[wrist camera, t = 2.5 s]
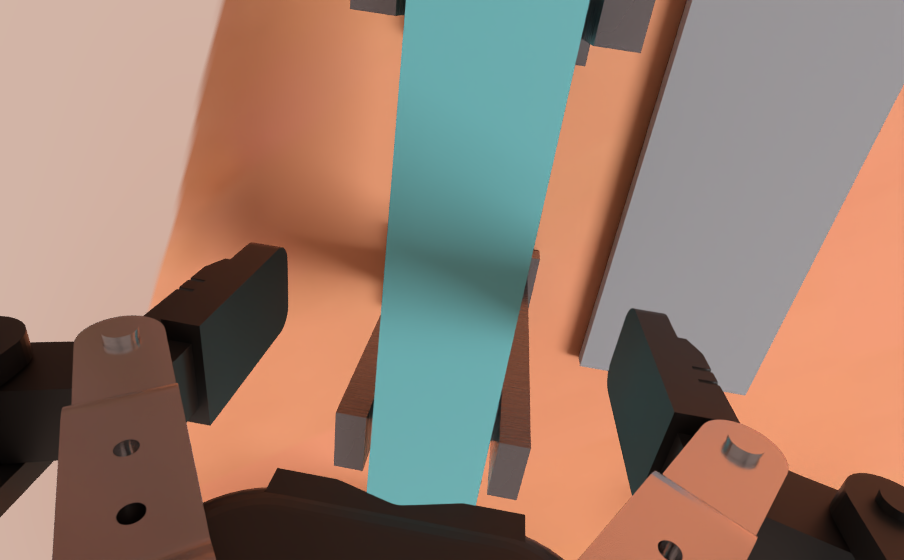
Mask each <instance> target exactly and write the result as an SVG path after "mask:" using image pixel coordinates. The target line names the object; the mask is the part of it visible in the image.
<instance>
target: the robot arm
mask: <svg viewBox="0 0 904 560" xmlns="http://www.w3.org/2000/svg"><path fill="white" fill-rule="evenodd" d="M287 312H288V266H287V253H286V250H285V249H284V248H282V247H276V246H270V245H264V244H258V243H249V244H248V245H247V246H246V247H244V248H243V249H242V250H241V251H240V252H239V253H237V254H236V255H235V256H234V257H233V258H231V259H223V260H221V261H218V262H215V263H213V264H210V265H208V266H205V267H204V268H202V269H201V270H200V271H199V272H197V273H196V274H195V275H194V276H193V277H191V280H188V281H186V282H185V283H184V284H183V285H181V286H180V288H179V290H178V289H176V290H175V291H174V292H173V293H171V294H170V295H169V296H168V297H166V298H165V299H164V300H163V301H161V302H160V303H159V304H158V305H156V306H155V307H154V308H153V309H151V310H150V311H149V312H148V313H146V314H145V315H144V316H120V317H114V318H110V319H106V320H103V321H100V322H97V323H95V324H93V325H91V326H89V327H87V328H86V329H84V330H83V331H82V332H80V333H79V334H78V336H77V337H76V339H75V341H74V342H36V343H30V341H29V337H28V334H27V330H26V327H25V325H24V324H23V322H21V321H19V320H18V319H15V318H11V317H5V316H0V517H1V516H2V515H3V514H4V513H5V512H6V510H7V509H8V508H9V507H10V506H11V505H12V504H13V503H14V502H15V501H16V500H17V499H18V498H19V497H20V496H21V495H22V494H23V493H24V492H25V491H26V490H27V489H28V487H29V486H30V485H31V484H32V483H33V482H34V481H35V480H36V479H37V478H38V477H39V476H40V475H41V474H42V473H43V472H44V470H45V469H47V467H48V466H49V465H50V464H51V463H52V462H53V461H56V460H58V470H57V472H58V473H57V488H56V504H55V522H54V539H53V555H52V560H564V559H563V558H561V557H560V556H558V555H557V554H556V553H554V552H553V551H551V550H550V549H549V548H547V547H545V546H543V545H542V544H540V543H538V542H536V541H535V540H532V539H530V538H528V537H526V536H525V515H523V514H518V513H512V512H507V511H502V510H496V509H491V508H486V507H481V506H475V505H470V504H465V503H455V504H426V505H396V504H392V503H390V502H387V501H385V500H383V499H381V498H378V497H376V496H374V495H372V494H369V493H367V492H365V491H362V490H360V489H358V488H356V487H353V486H351V485H349V484H347V483H344V482H342V481H340V480H338V479H333V478H327V477H322V476H317V475H311V474H306V473H301V472H296V471H290V470H285V469H280V468H277V470H276V472H275V474H274V476H273V478H272V479H271V481H270V483H269V485H268V487H267V488H254V489H247V490H241V491H237V492H233V493H229V494H225V495H222V496H219V497H216V498H213V499H211V500H209V501H206V502H204V503H203V501H202V497H201V492H200V487H199V482H198V477H197V472H196V468H195V463H194V458H193V453H192V448H191V443H190V439H189V434H188V429H187V424H186V423H187V421H189V422H194V423H200V424H205V425H211V424H212V423H213V421H214V420H215V419H216V417H217V416H218V415H219V413H220V412H221V411H222V409H223V408H224V407H225V405H226V404H227V403H228V401H229V400H230V399H231V397H232V396H233V395H234V393H235V392H236V391H237V389H238V388H239V387H240V385H241V384H242V383H243V382H244V380H245V379H246V378H247V376H248V375H249V374H250V372H251V371H252V370H253V368H254V367H255V366H256V364H257V363H258V362H259V360H260V359H261V358H262V356H263V355H264V354H265V352H266V351H267V350H268V348H269V347H270V346H271V344H272V343H273V342H274V340H275V339H276V338H277V336H278V335H279V334H280V332H281V331H282V329H283V327H284V324H285V321H286V318H287ZM607 388H608V394H609V398H610V402H611V407H612V411H613V415H614V420H615V424H616V428H617V433H618V437H619V441H620V446H621V450H622V454H623V459H624V463H625V467H626V472H627V476H628V480H629V485H630V489H631V493H632V497H631V498H630V499H629V500H628V502H627V503H626V504H625V505H624V506H623V507H622V509H621V510H620V511H619V512H618V513H617V514H616V516H615V517H614V518H613V519H612V520H611V521H610V523H609V524H608V525H607V526H606V527H605V529H604V530H603V531H602V532H601V533H600V534H599V536H598V537H597V538H596V539H595V540H594V541H593V543H592V544H591V545H590V546H589V547H588V548H587V550H586V551H585V552H584V553H583V554H582V555H581V557H580V558H579V559H578V560H904V487H903V486H901V485H900V484H898V483H895V482H893V481H891V480H889V479H886V478H883V477H880V476H876V475H873V474H867V473H857V474H852V475H850V476H849V477H848V478H847V479H846V480H845V481H844V483H843V484H842V486H841V487H840V489H839V490H836V489H833V488H831V487H828V486H826V485H823V484H821V483H818V482H816V481H813V480H810V479H808V478H805V477H803V476H800V475H798V474H796V473H793V472H791V471H789V470H788V463H787V460H786V458H785V456H784V454H783V453H782V452H781V450H780V449H779V448H778V447H777V446H776V445H775V444H774V443H773V442H772V441H770V440H769V439H768V438H767V437H765V436H764V435H762V434H761V433H759V432H757V431H756V430H754V429H752V428H750V427H748V426H745V425H743V424H740V422H739V420H738V419H737V417H736V415H735V413H734V411H733V409H732V407H731V406H730V404H729V402H728V400H727V398H726V396H725V394H724V392H723V391H722V389H721V387H720V386H719V385H718V381H717V379H716V377H715V376H714V374H713V373H712V372H711V368H710V366H709V364H708V363H707V361H706V359H705V357H704V355H703V354H702V353H701V352H700V351H699V350H698V349H697V348H696V347H695V346H694V345H692V344H691V343H690V342H689V341H688V340H687V339H684V338H678V337H677V335H676V333H675V331H674V329H673V327H672V325H671V323H670V320H669V318H668V316H667V315H666V314H664V313H658V312H652V311H646V310H641V309H635V308H631V309H630V310H629V311H628V313H627V315H626V317H625V320H624V323H623V326H622V329H621V332H620V335H619V338H618V341H617V344H616V347H615V350H614V353H613V356H612V359H611V362H610V366H609V371H608V378H607Z"/></svg>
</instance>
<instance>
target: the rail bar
mask: <svg viewBox="0 0 904 560" xmlns="http://www.w3.org/2000/svg"><path fill="white" fill-rule="evenodd" d="M589 1H590V0H406V6H405V18H404V31H403V43H402V56H401V68H400V81H399V94H398V106H397V119H396V131H395V144H394V156H393V169H392V181H391V194H390V207H389V219H388V232H387V244H386V257H385V269H384V282H383V295H382V307H381V320H380V332H379V345H378V357H377V370H376V382H375V395H374V408H373V420H372V433H371V445H370V458H369V470H368V483H367V493H369V494H372V495H374V496H376V497H378V498H381V499H383V500H385V501H387V502H390V503H392V504H396V505H426V504H455V503H465V504H470V505H475V506H476V502H477V497H478V493H479V488H480V484H481V480H482V475H483V471H484V466H485V462H486V457H487V453H488V449H489V444H490V440H491V435H492V431H493V426H494V422H495V418H496V413H497V409H498V404H499V400H500V395H501V391H502V387H503V382H504V378H505V373H506V369H507V364H508V360H509V356H510V351H511V347H512V342H513V338H514V333H515V329H516V325H517V320H518V316H519V311H520V307H521V302H522V298H523V293H524V289H525V285H526V280H527V276H528V271H529V267H530V262H531V258H532V254H533V249H534V245H535V240H536V236H537V231H538V227H539V223H540V218H541V214H542V209H543V205H544V200H545V196H546V192H547V187H548V183H549V178H550V174H551V169H552V165H553V161H554V156H555V152H556V147H557V143H558V138H559V134H560V130H561V125H562V121H563V116H564V112H565V107H566V103H567V98H568V94H569V90H570V85H571V81H572V76H573V72H574V67H575V63H576V59H577V54H578V50H579V45H580V41H581V36H582V32H583V28H584V23H585V19H586V14H587V10H588V5H589Z"/></svg>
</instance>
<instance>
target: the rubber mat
mask: <svg viewBox="0 0 904 560" xmlns="http://www.w3.org/2000/svg"><path fill="white" fill-rule="evenodd" d="M903 85H904V0H687V2H686V5H685V8H684V11H683V15H682V18H681V21H680V25H679V28H678V31H677V35H676V38H675V41H674V44H673V48H672V51H671V54H670V58H669V61H668V64H667V68H666V71H665V74H664V77H663V81H662V84H661V87H660V91H659V94H658V97H657V101H656V104H655V107H654V110H653V114H652V117H651V120H650V124H649V127H648V130H647V134H646V137H645V140H644V143H643V147H642V150H641V153H640V157H639V160H638V163H637V167H636V170H635V173H634V177H633V180H632V183H631V186H630V190H629V193H628V196H627V200H626V203H625V206H624V210H623V213H622V216H621V219H620V223H619V226H618V229H617V233H616V236H615V239H614V243H613V246H612V249H611V252H610V256H609V259H608V262H607V266H606V269H605V272H604V276H603V279H602V282H601V285H600V289H599V292H598V295H597V299H596V302H595V305H594V309H593V312H592V315H591V318H590V322H589V325H588V328H587V332H586V335H585V338H584V342H583V345H582V348H581V351H580V355H579V362H580V366H584V367H589V368H595V369H600V370H606V371H609V366H610V362H611V359H612V356H613V353H614V350H615V347H616V344H617V341H618V338H619V335H620V332H621V329H622V326H623V323H624V320H625V317H626V315H627V313H628V311H629V310H630V309H631V308H635V309H641V310H646V311H652V312H658V313H664V314H666V315H667V316H668V318H669V320H670V323H671V325H672V327H673V329H674V331H675V333H676V335H677V337H678V338H684V339H687V340H688V341H689V342H690V343H691V344H692V345H694V346H695V347H696V348H697V349H698V350H699V351H700V352H701V353H702V354H703V355H704V357H705V359H706V361H707V363H708V364H709V366H710V368H711V372H712V373H713V374H714V376H715V377H716V379H717V381H718V385H719V386H720V387H721V389H722V391H724V392H729V393H735V394H741V395H746V393H747V391H748V389H749V387H750V385H751V383H752V381H753V379H754V377H755V375H756V373H757V371H758V369H759V367H760V365H761V363H762V362H763V360H764V358H765V356H766V354H767V352H768V350H769V348H770V346H771V344H772V342H773V340H774V338H775V336H776V334H777V332H778V330H779V328H780V326H781V324H782V322H783V320H784V318H785V316H786V314H787V312H788V310H789V309H790V307H791V305H792V303H793V301H794V299H795V297H796V295H797V293H798V291H799V289H800V287H801V285H802V283H803V281H804V279H805V277H806V275H807V273H808V271H809V269H810V267H811V265H812V263H813V261H814V259H815V257H816V255H817V254H818V252H819V250H820V248H821V246H822V244H823V242H824V240H825V238H826V236H827V234H828V232H829V230H830V228H831V226H832V224H833V222H834V220H835V218H836V216H837V214H838V212H839V210H840V208H841V206H842V204H843V202H844V201H845V199H846V197H847V195H848V193H849V191H850V189H851V187H852V185H853V183H854V181H855V179H856V177H857V175H858V173H859V171H860V169H861V167H862V165H863V163H864V161H865V159H866V157H867V155H868V153H869V151H870V149H871V147H872V146H873V144H874V142H875V140H876V138H877V136H878V134H879V132H880V130H881V128H882V126H883V124H884V122H885V120H886V118H887V116H888V114H889V112H890V110H891V108H892V106H893V104H894V102H895V100H896V98H897V96H898V94H899V93H900V91H901V89H902V87H903Z"/></svg>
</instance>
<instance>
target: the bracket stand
mask: <svg viewBox="0 0 904 560" xmlns="http://www.w3.org/2000/svg"><path fill="white" fill-rule="evenodd" d="M654 3H655V0H590V1H589V5H588V10H587V14H586V19H585V23H584V28H583V32H582V36H581V41H580V45H579V50H578V54H577V59H576V63H575V65H581V66H585V64H586V60H587V56H588V52H589V47H590V44H591V45H593V46H598V47H604V48H611V49H618V50H624V51H631V52H637V53H641V50H642V46H643V43H644V39H645V35H646V32H647V28H648V25H649V21H650V17H651V14H652V10H653V7H654ZM405 6H406V0H350V9H354V10H361V11H367V12H374V13H381V14H387V15H394V16H399V15H405ZM539 261H540V255H539V251H536V250H533V254H532V258H531V262H530V267H529V271H528V276H527V280H526V285H525V289H524V293H523V298H522V302H521V307H520V311H519V316H518V320H517V325H516V329H515V333H514V338H513V342H512V347H511V351H510V356H509V360H508V364H507V369H506V373H505V378H504V382H503V387H502V391H501V395H500V400H499V404H498V409H497V413H496V418H495V422H494V426H493V431H492V435H491V440H490V441H491V447H490V461H489V475H488V489H487V495H492V496H497V497H503V498H508V499H513V500H517V496H518V493H519V489H520V485H521V482H522V478H523V475H524V471H525V467H526V464H527V460H528V457H529V453H530V449H531V437H530V383H529V329H528V308H529V303H530V299H531V295H532V291H533V286H534V282H535V278H536V274H537V269H538V265H539ZM380 320H381V315H380V317H379V320H378V322H377V324H376V326H375V328H374V330H373V333H372V335H371V337H370V339H369V341H368V344H367V346H366V348H365V350H364V352H363V354H362V357H361V359H360V361H359V363H358V365H357V367H356V370H355V372H354V374H353V376H352V378H351V381H350V383H349V385H348V387H347V389H346V391H345V394H344V396H343V398H342V400H341V402H340V404H339V407H338V409H337V411H336V422H335V451H334V465H335V466H340V467H345V468H350V469H356V470H361V471H363V468H364V465H365V462H366V459H367V456H368V454H369V451H370V445H371V433H372V420H373V408H374V395H375V382H376V370H377V357H378V345H379V332H380Z"/></svg>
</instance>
